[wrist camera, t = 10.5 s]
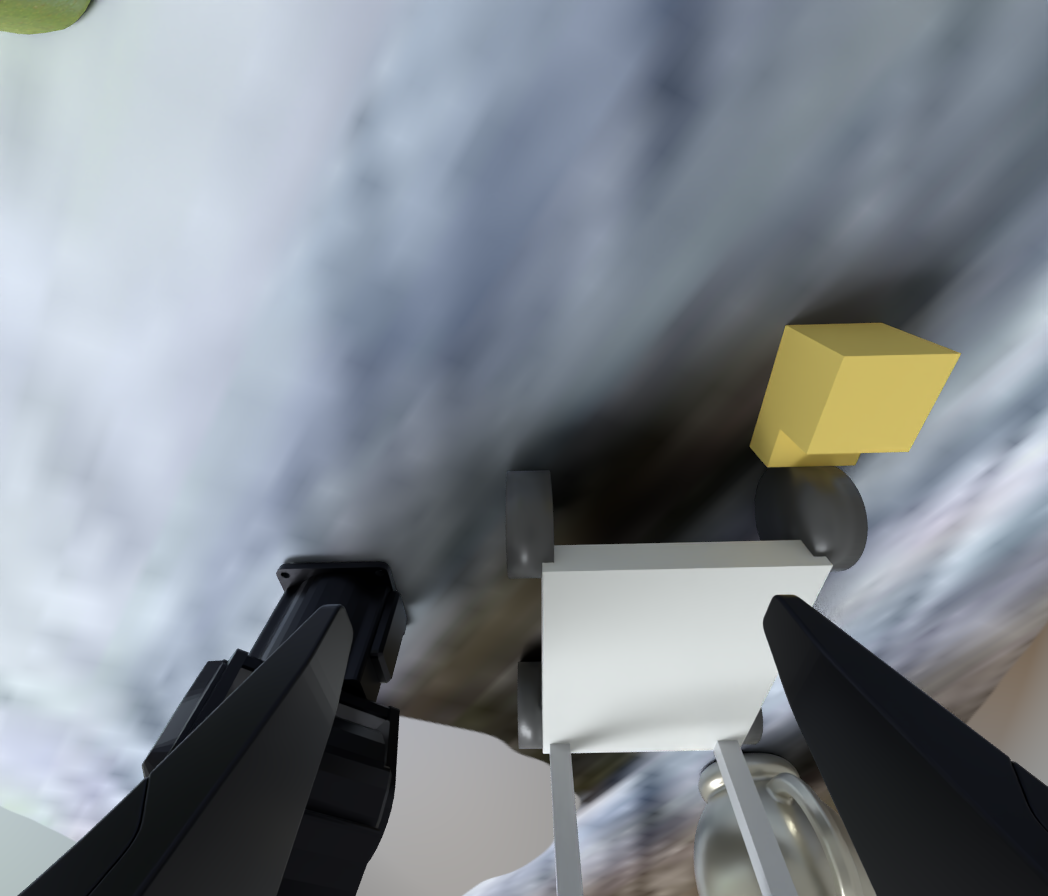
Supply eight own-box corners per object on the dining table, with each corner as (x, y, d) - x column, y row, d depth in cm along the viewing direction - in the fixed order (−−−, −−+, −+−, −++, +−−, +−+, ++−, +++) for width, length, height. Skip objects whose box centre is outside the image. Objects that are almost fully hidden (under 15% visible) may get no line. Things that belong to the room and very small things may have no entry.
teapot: (791, 802, 44) (917, 1090, 30) (659, 804, 44) (723, 1093, 30) (860, 710, 34) (1092, 1069, 20) (691, 713, 34) (807, 1073, 20)
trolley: (719, 682, 32) (838, 981, 20) (520, 686, 32) (519, 985, 20) (812, 443, 21) (1201, 791, 9) (507, 451, 21) (490, 803, 9)
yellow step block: (747, 444, 21) (790, 494, 18) (783, 323, 18) (844, 356, 15) (828, 442, 21) (887, 492, 18) (878, 321, 18) (961, 353, 15)
